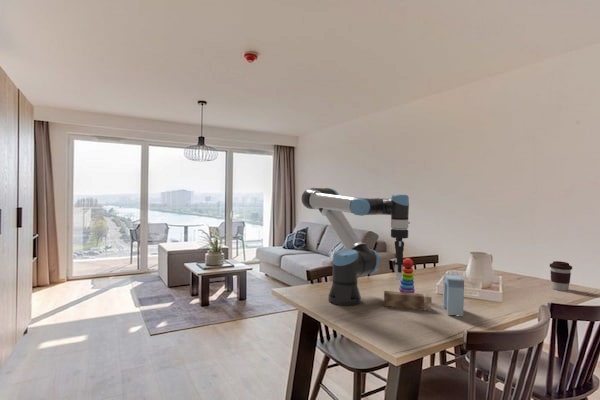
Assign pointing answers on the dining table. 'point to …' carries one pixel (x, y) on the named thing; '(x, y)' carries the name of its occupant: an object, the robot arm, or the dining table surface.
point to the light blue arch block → (453, 294)
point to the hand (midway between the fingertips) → (398, 276)
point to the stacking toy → (407, 277)
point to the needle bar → (407, 300)
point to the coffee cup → (560, 275)
